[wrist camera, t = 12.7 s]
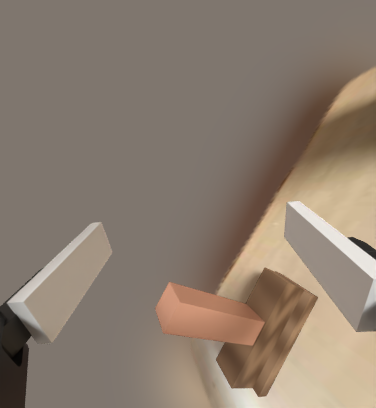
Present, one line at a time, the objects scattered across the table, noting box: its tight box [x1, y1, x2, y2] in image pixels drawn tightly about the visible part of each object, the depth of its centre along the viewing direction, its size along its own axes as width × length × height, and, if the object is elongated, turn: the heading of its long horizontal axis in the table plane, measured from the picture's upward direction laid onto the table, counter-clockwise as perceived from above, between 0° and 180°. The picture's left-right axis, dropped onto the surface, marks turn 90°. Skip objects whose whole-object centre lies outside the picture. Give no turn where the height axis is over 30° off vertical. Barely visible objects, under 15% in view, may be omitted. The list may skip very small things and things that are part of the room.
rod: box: [155, 282, 265, 346], centre depth 26 cm, size 4×4×16 cm
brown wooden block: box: [216, 268, 318, 397], centre depth 31 cm, size 18×7×7 cm, turn 130°
